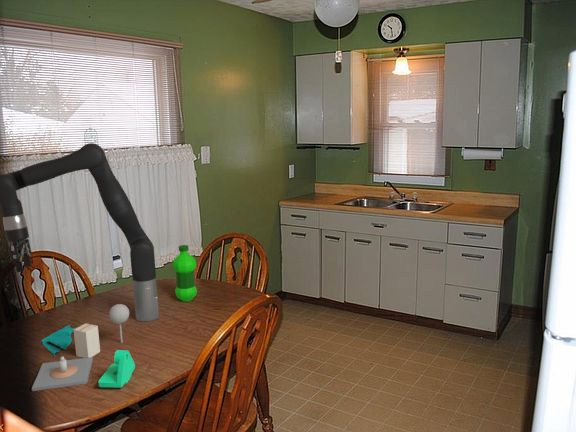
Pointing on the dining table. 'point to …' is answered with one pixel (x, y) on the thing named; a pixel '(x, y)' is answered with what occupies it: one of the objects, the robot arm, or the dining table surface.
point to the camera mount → (118, 370)
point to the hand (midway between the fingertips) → (24, 269)
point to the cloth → (58, 339)
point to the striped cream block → (87, 340)
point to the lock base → (63, 373)
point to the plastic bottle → (185, 274)
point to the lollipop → (119, 315)
